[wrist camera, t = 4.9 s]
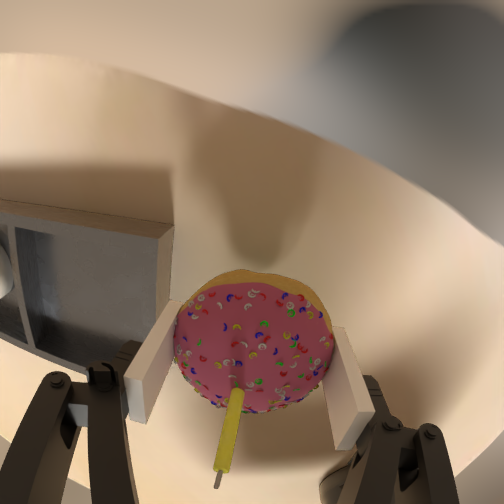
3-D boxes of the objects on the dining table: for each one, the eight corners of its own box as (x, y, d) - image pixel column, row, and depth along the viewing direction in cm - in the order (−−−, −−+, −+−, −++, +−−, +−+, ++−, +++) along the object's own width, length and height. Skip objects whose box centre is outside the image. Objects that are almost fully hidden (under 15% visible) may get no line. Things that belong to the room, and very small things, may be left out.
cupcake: (281, 375, 21) (283, 521, 10) (174, 329, 21) (106, 467, 9) (345, 281, 19) (417, 426, 7) (223, 221, 18) (149, 331, 7)
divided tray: (174, 225, 22) (158, 239, 18) (168, 371, 26) (157, 396, 23) (-37, 194, 21) (-58, 201, 18) (-21, 304, 26) (-38, 316, 23)
